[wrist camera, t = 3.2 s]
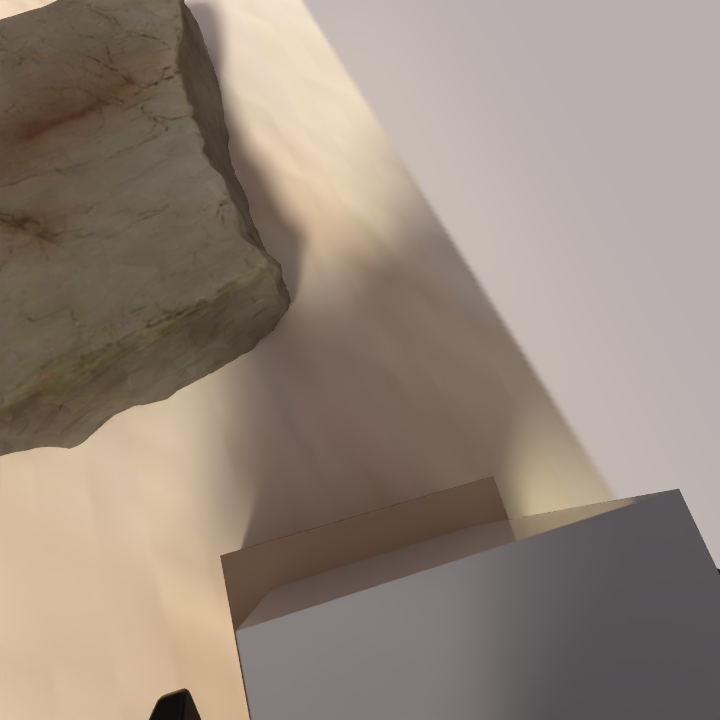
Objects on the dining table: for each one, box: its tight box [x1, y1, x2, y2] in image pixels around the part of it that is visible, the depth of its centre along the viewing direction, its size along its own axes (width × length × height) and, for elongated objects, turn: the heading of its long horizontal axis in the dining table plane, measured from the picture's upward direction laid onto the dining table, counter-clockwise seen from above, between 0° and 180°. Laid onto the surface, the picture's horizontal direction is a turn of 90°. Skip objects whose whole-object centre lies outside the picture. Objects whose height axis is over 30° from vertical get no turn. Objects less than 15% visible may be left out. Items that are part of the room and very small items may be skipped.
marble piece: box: [0, 0, 290, 456], centre depth 17 cm, size 17×15×4 cm
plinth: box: [220, 477, 509, 720], centre depth 13 cm, size 7×7×4 cm
